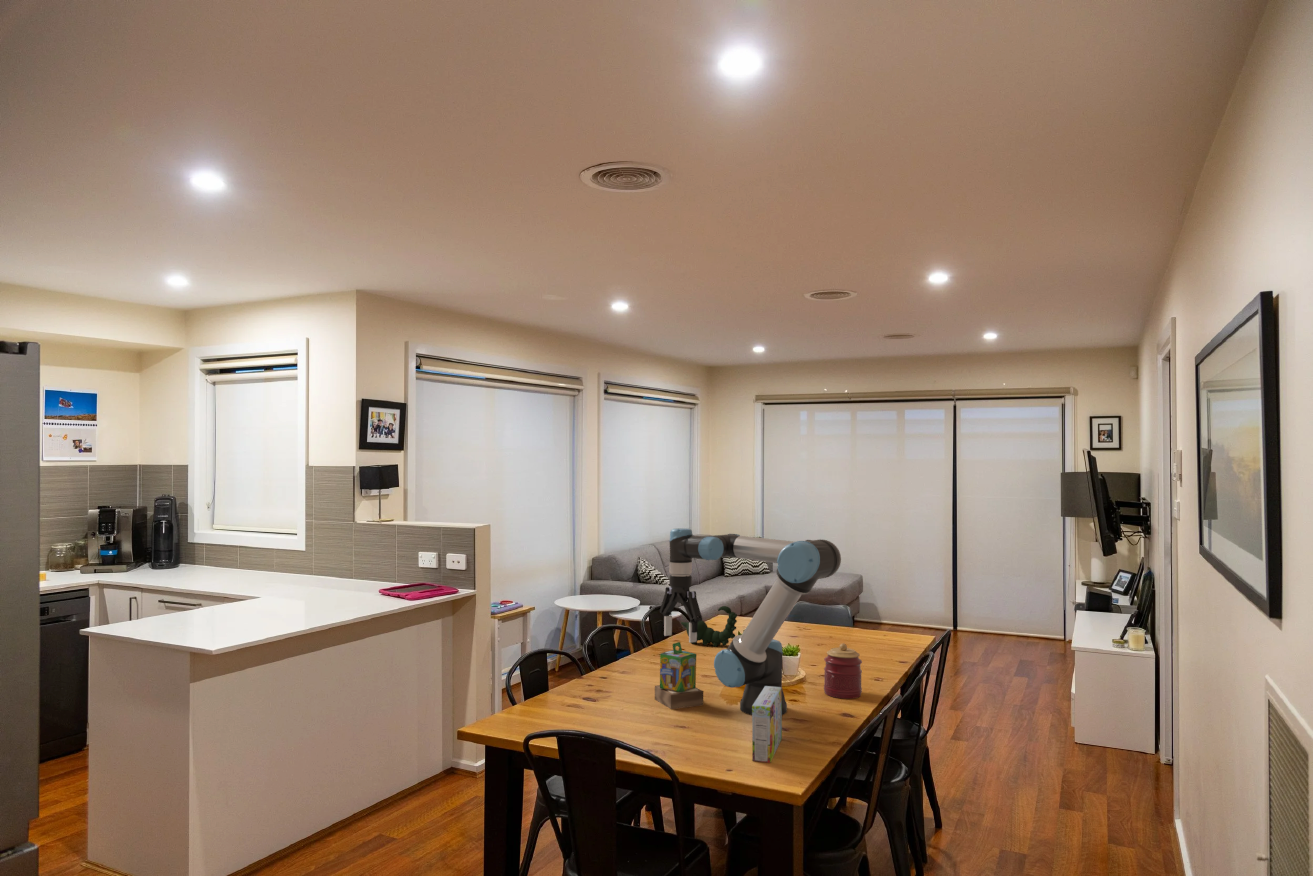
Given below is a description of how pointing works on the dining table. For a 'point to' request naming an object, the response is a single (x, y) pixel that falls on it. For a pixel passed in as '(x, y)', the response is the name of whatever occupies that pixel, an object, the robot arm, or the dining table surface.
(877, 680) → the dining table surface
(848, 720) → the dining table surface
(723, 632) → the toy figurine
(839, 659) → the canister
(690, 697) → the riser
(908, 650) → the dining table surface
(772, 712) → the snack box
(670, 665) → the chalk box
